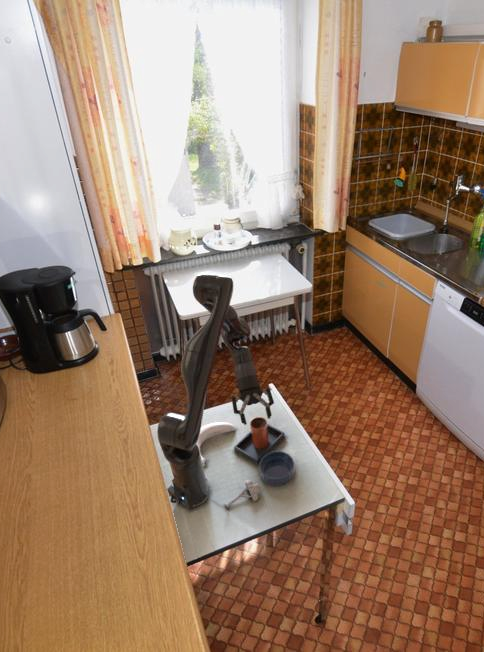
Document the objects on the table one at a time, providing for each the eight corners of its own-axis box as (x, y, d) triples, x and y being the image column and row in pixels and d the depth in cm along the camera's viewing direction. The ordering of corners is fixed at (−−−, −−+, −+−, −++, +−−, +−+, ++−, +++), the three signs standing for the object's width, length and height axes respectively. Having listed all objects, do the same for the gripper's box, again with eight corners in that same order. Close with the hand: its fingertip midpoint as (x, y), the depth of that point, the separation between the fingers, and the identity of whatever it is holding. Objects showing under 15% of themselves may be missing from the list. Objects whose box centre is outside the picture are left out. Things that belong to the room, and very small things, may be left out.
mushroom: (220, 493, 135) (253, 473, 138) (222, 499, 138) (255, 478, 142) (230, 513, 131) (265, 491, 134) (232, 518, 134) (266, 497, 138)
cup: (261, 451, 152) (259, 431, 147) (249, 444, 155) (246, 424, 150) (272, 440, 156) (270, 421, 151) (259, 433, 159) (257, 414, 154)
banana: (229, 421, 166) (247, 446, 155) (183, 444, 159) (197, 472, 148) (227, 412, 163) (245, 437, 152) (179, 435, 157) (194, 462, 146)
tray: (257, 465, 148) (257, 460, 146) (234, 451, 154) (233, 446, 152) (284, 437, 157) (284, 432, 156) (262, 425, 163) (261, 420, 162)
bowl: (280, 493, 138) (279, 485, 136) (253, 476, 144) (252, 468, 142) (301, 469, 145) (300, 461, 143) (274, 453, 151) (273, 445, 149)
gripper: (227, 379, 150) (238, 426, 147) (267, 370, 153) (278, 416, 150) (226, 382, 158) (236, 427, 154) (264, 373, 161) (275, 416, 157)
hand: (257, 421), depth 152 cm, fingers open, 8 cm apart
